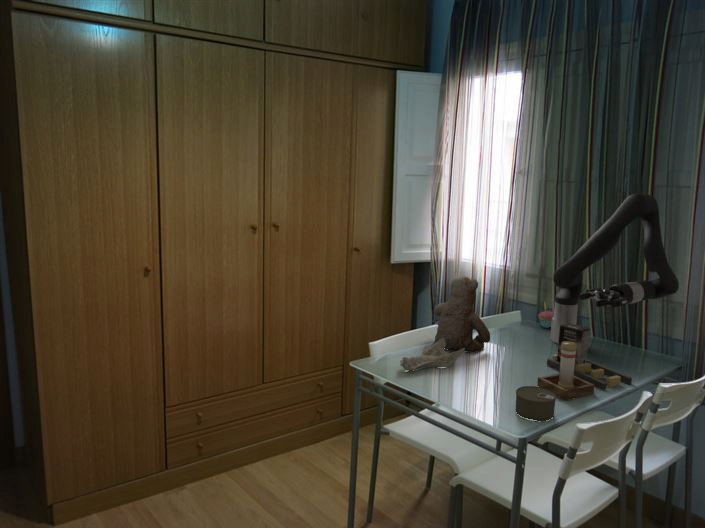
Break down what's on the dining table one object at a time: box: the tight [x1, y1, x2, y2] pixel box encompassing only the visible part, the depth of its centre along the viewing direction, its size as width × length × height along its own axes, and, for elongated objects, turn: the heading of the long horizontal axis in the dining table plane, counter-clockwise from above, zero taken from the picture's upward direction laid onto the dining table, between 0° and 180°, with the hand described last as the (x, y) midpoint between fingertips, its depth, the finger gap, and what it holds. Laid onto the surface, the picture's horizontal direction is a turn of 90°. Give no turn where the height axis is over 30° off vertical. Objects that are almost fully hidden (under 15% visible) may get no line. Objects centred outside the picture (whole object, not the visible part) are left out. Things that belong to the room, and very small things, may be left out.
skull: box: [399, 338, 466, 372], centre depth 228 cm, size 12×8×25 cm
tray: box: [536, 372, 596, 401], centre depth 207 cm, size 13×13×3 cm
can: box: [515, 385, 557, 421], centre depth 188 cm, size 12×12×7 cm
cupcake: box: [537, 300, 554, 329], centre depth 281 cm, size 9×8×12 cm
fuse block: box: [546, 353, 633, 391], centre depth 223 cm, size 28×14×3 cm, turn 26°
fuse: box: [558, 341, 577, 389], centre depth 206 cm, size 5×5×16 cm
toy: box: [433, 275, 491, 353], centre depth 249 cm, size 26×20×30 cm
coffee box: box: [556, 323, 591, 369], centre depth 228 cm, size 9×6×16 cm
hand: (588, 300), depth 210 cm, fingers open, 8 cm apart
